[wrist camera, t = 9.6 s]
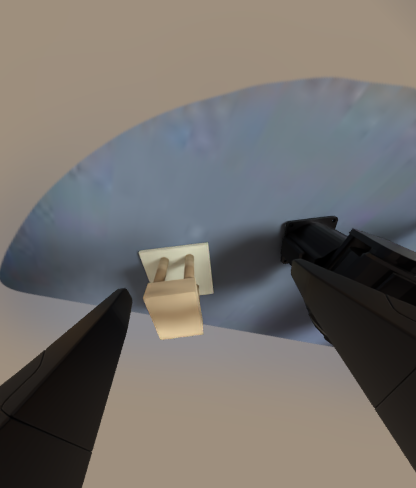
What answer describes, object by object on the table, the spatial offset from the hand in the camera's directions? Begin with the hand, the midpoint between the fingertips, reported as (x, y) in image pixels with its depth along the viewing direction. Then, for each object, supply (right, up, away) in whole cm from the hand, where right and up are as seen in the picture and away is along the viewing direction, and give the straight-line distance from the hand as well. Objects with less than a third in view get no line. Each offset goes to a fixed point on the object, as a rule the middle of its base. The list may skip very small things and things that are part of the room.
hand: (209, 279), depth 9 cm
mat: (-4, -2, +15) cm, 16 cm away
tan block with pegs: (-4, -2, +15) cm, 15 cm away
